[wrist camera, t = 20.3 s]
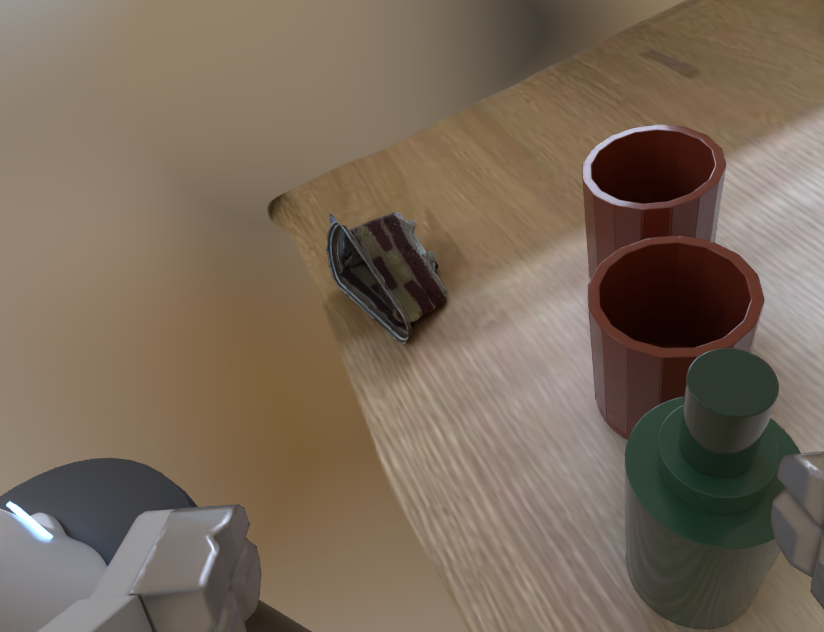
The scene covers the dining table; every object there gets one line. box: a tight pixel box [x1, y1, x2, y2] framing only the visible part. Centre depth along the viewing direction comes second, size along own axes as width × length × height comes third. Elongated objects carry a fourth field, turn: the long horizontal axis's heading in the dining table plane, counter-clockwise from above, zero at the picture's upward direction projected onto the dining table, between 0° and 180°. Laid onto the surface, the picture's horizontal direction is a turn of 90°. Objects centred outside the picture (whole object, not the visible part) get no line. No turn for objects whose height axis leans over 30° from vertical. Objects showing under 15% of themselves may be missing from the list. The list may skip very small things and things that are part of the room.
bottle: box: [625, 348, 800, 629], centre depth 25 cm, size 6×6×18 cm
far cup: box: [582, 125, 726, 281], centre depth 42 cm, size 8×8×10 cm
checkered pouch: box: [326, 212, 447, 344], centre depth 51 cm, size 10×7×12 cm
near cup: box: [588, 236, 764, 440], centre depth 35 cm, size 8×8×10 cm
